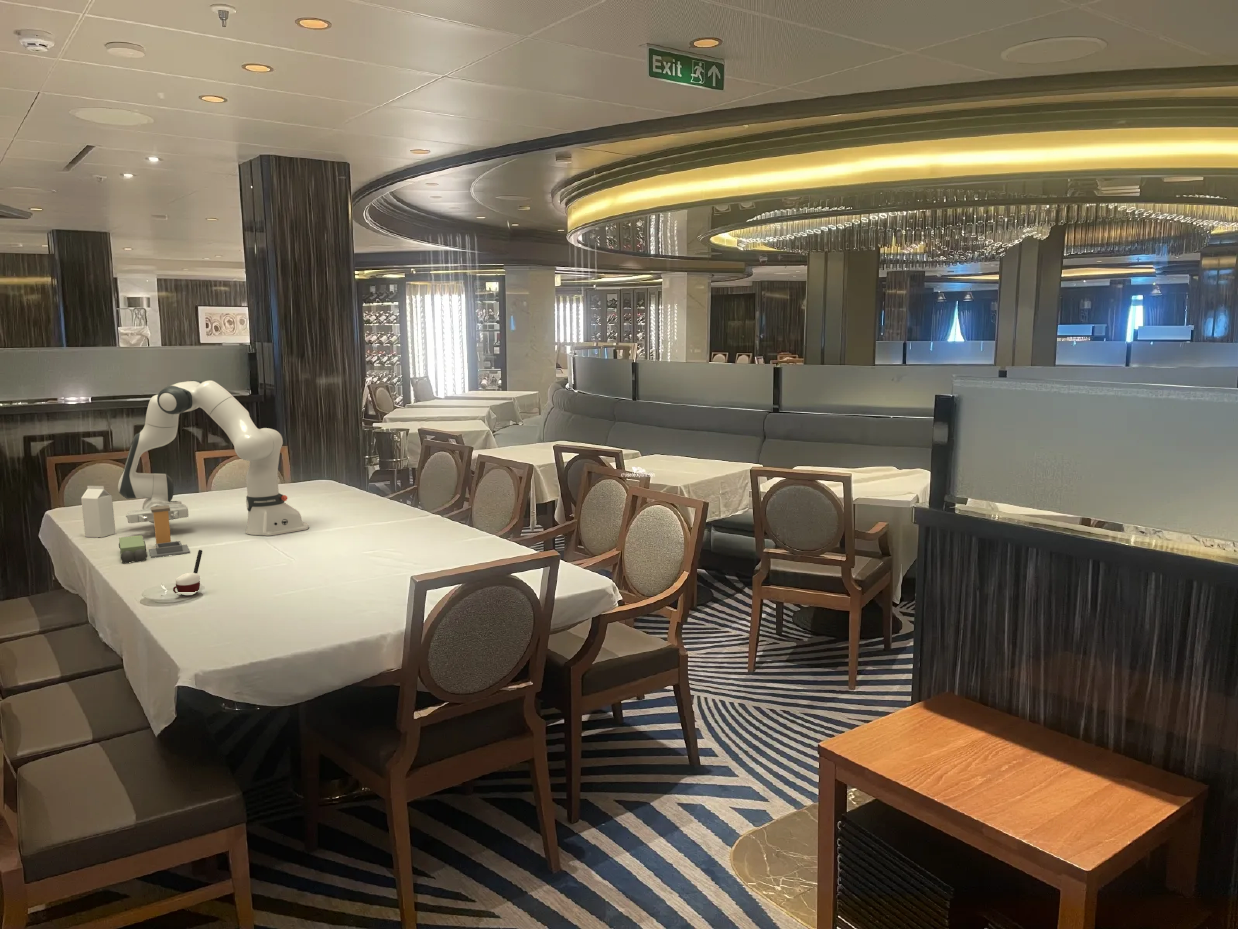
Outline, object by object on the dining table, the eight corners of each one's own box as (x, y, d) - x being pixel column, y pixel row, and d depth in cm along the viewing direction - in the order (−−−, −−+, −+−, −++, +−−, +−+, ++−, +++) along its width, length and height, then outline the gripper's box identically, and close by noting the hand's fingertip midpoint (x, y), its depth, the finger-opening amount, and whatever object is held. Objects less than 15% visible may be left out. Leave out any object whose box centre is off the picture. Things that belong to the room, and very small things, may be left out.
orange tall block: (172, 543, 312) (168, 505, 309) (173, 546, 307) (170, 507, 305) (154, 545, 309) (150, 507, 306) (155, 548, 304) (151, 509, 302)
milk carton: (101, 538, 321) (96, 487, 318) (85, 537, 322) (79, 487, 319) (116, 533, 328) (111, 484, 325) (99, 533, 329) (94, 484, 326)
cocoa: (175, 601, 245) (170, 560, 242) (170, 595, 250) (165, 555, 247) (211, 593, 250) (206, 553, 248) (206, 587, 255) (201, 548, 253)
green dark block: (144, 548, 305) (143, 534, 304) (148, 560, 287) (146, 546, 287) (119, 551, 301) (117, 537, 300) (121, 564, 283) (119, 549, 283)
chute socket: (186, 546, 307) (186, 538, 307) (190, 553, 297) (189, 545, 296) (148, 550, 301) (148, 543, 300) (150, 558, 291) (150, 550, 290)
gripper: (124, 506, 322) (126, 513, 311) (185, 500, 333) (189, 506, 321) (126, 523, 323) (127, 530, 311) (186, 516, 334) (190, 523, 322)
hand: (159, 518), depth 316 cm, fingers open, 8 cm apart
